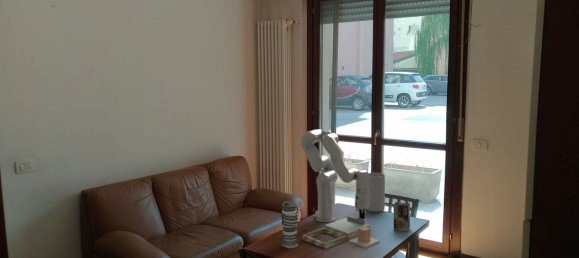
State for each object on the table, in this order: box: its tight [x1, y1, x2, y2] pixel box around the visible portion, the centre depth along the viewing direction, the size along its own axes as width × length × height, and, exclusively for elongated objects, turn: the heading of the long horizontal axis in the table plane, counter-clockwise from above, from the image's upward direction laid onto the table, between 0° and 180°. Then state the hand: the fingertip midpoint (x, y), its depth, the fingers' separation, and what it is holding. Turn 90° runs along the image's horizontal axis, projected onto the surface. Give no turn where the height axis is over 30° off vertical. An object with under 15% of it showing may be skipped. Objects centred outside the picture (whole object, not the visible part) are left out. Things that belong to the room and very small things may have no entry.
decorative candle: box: [280, 200, 299, 249], centre depth 234 cm, size 9×9×25 cm
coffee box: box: [392, 201, 411, 233], centre depth 255 cm, size 9×6×16 cm
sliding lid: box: [324, 215, 371, 235], centre depth 254 cm, size 19×19×4 cm
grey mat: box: [348, 236, 380, 249], centre depth 237 cm, size 12×12×1 cm
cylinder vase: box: [366, 172, 386, 213], centre depth 294 cm, size 12×12×25 cm
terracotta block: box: [357, 226, 371, 243], centre depth 237 cm, size 5×5×7 cm
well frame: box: [301, 226, 371, 250], centre depth 249 cm, size 19×39×2 cm, turn 131°
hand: (362, 218), depth 263 cm, fingers closed
